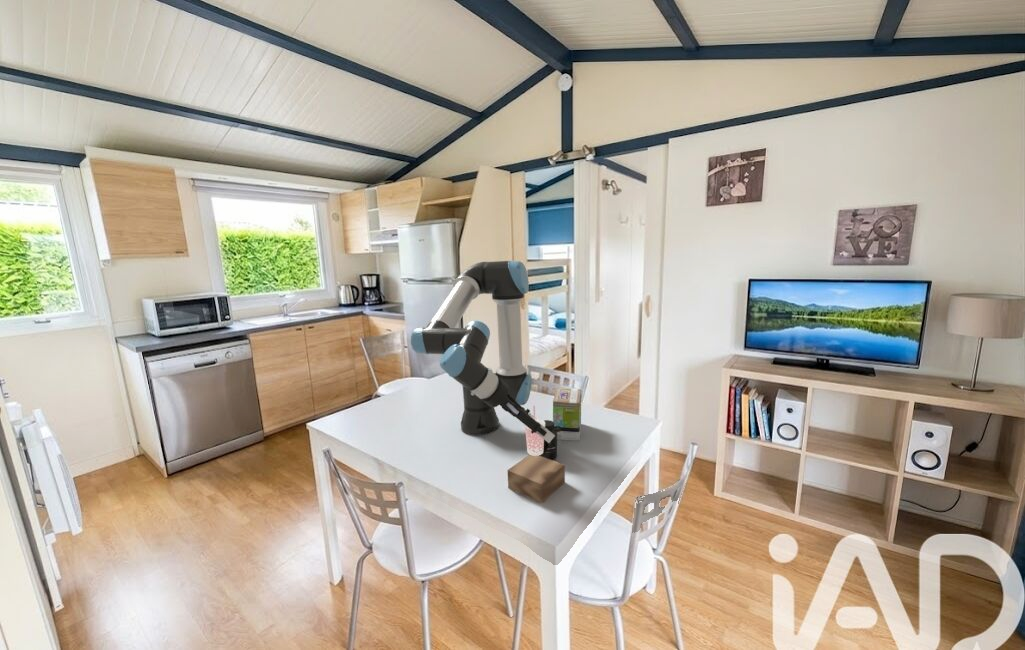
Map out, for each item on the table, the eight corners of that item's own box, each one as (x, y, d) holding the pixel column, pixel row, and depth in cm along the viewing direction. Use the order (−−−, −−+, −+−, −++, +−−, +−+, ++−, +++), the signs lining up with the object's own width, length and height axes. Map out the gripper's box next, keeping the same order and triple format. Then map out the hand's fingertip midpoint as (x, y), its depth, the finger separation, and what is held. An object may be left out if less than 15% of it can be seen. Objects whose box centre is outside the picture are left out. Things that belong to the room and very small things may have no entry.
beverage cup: (541, 458, 110) (540, 411, 107) (521, 455, 113) (520, 409, 110) (548, 448, 116) (547, 403, 113) (529, 445, 118) (528, 401, 115)
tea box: (580, 441, 141) (580, 402, 138) (552, 439, 143) (551, 401, 141) (581, 423, 156) (581, 387, 153) (556, 422, 158) (555, 387, 155)
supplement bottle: (552, 463, 127) (551, 429, 125) (533, 458, 131) (532, 425, 129) (561, 454, 133) (560, 421, 131) (543, 449, 137) (542, 417, 134)
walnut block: (508, 488, 116) (507, 470, 114) (532, 470, 125) (531, 452, 123) (541, 503, 108) (541, 484, 107) (564, 483, 117) (564, 464, 116)
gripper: (472, 388, 115) (526, 430, 123) (490, 412, 97) (552, 459, 105) (489, 368, 115) (541, 411, 124) (510, 388, 98) (569, 437, 106)
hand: (546, 433), depth 114 cm, fingers closed on beverage cup, 6 cm apart
